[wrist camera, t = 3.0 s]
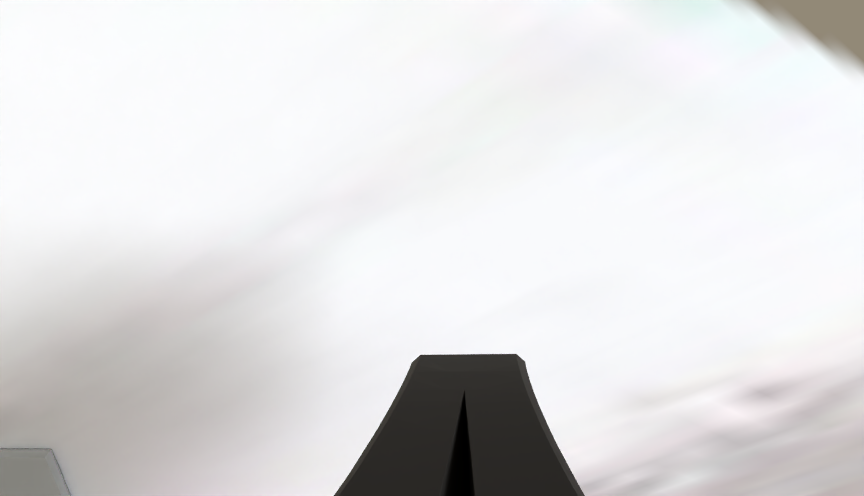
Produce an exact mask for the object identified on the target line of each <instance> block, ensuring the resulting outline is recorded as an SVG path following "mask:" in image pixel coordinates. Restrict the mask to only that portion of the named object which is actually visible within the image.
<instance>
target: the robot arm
mask: <svg viewBox="0 0 864 496" xmlns="http://www.w3.org/2000/svg"><path fill="white" fill-rule="evenodd" d="M334 496H585V495H584V494H583V492H582V490H581V488H580V487H579V485H578V483H577V481H576V479H575V477H574V476H573V474H572V472H571V470H570V468H569V466H568V464H567V463H566V461H565V459H564V457H563V455H562V453H561V451H560V449H559V448H558V446H557V444H556V442H555V440H554V437H553V435H552V433H551V431H550V429H549V427H548V425H547V423H546V420H545V418H544V416H543V414H542V411H541V409H540V407H539V404H538V402H537V399H536V397H535V394H534V392H533V389H532V386H531V383H530V380H529V376H528V373H527V369H526V364H525V361H524V360H522V359H521V358H520V357H519V356H518V355H517V354H470V355H420V356H419V357H418V358H417V359H415V360H414V361H413V362H412V364H411V366H410V369H409V371H408V373H407V376H406V378H405V380H404V382H403V384H402V386H401V388H400V390H399V392H398V394H397V395H396V397H395V399H394V401H393V403H392V405H391V407H390V408H389V410H388V412H387V414H386V415H385V417H384V419H383V421H382V422H381V424H380V426H379V428H378V429H377V431H376V432H375V434H374V436H373V437H372V439H371V440H370V442H369V444H368V445H367V447H366V448H365V450H364V451H363V453H362V455H361V456H360V458H359V459H358V461H357V463H356V464H355V466H354V467H353V469H352V470H351V472H350V473H349V475H348V476H347V478H346V479H345V481H344V482H343V484H342V485H341V487H340V488H339V489H338V491H337V492H336V494H335V495H334Z"/></svg>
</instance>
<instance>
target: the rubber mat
mask: <svg viewBox="0 0 864 496" xmlns="http://www.w3.org/2000/svg"><path fill="white" fill-rule="evenodd" d="M0 496H71V495H70V493H69V490H68V488H67V486H66V483H65V481H64V478H63V476H62V474H61V471H60V469H59V466H58V464H57V462H56V459H55V457H54V454H53V452H52V450H51V449H0Z"/></svg>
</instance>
